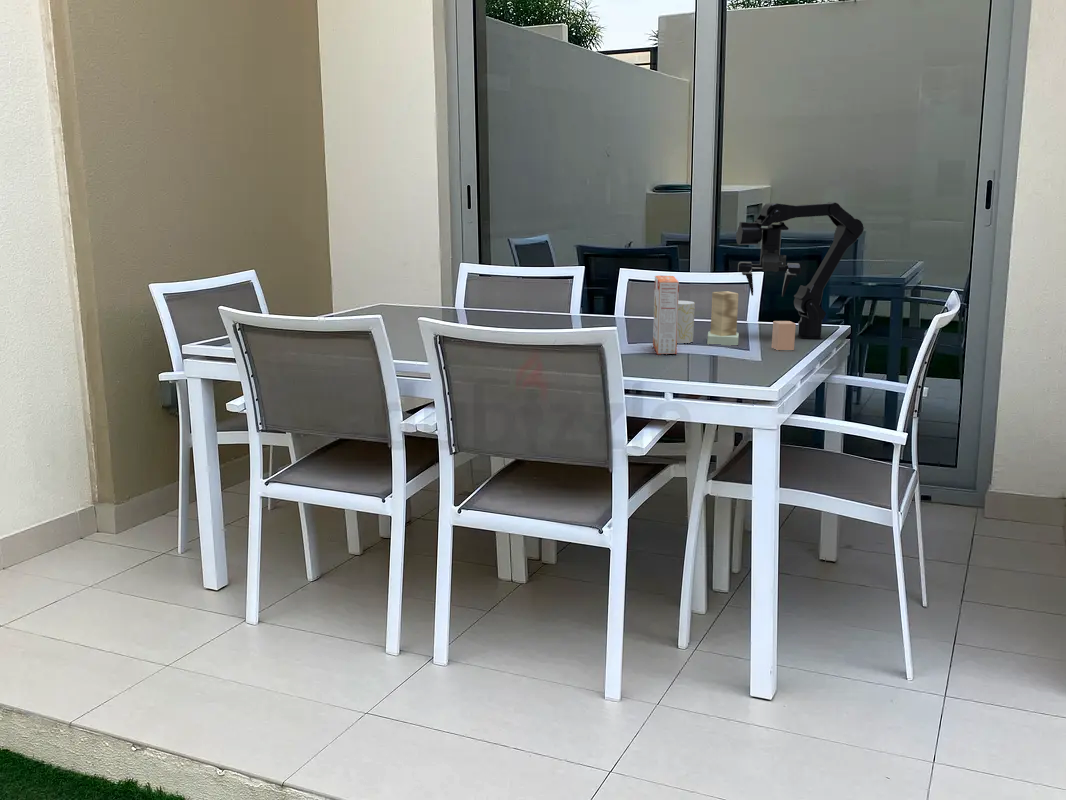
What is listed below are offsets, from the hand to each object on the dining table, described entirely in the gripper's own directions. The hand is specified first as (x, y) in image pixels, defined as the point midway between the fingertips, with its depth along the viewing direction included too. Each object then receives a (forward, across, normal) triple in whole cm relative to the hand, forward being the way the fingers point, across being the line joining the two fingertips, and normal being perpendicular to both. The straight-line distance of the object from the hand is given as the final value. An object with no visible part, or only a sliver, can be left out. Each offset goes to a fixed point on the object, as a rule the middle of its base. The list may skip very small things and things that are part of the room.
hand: (767, 295), depth 318 cm
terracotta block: (+13, +4, -20) cm, 24 cm away
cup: (+13, -26, -14) cm, 32 cm away
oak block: (+10, -13, -12) cm, 20 cm away
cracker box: (+13, -30, -30) cm, 44 cm away
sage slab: (+14, -13, -12) cm, 22 cm away
